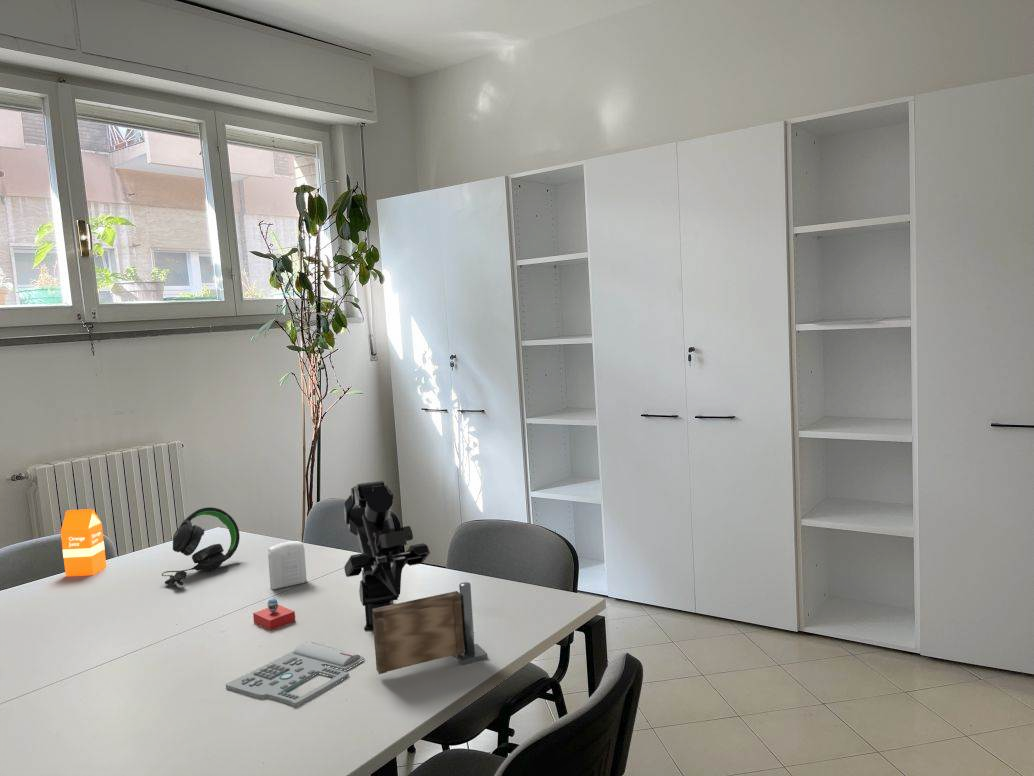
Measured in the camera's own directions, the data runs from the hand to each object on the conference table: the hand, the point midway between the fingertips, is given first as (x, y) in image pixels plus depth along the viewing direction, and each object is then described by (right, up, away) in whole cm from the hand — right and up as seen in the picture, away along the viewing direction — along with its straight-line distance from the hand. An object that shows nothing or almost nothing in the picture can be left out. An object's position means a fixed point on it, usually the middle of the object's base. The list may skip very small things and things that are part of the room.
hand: (397, 595), depth 169 cm
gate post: (+16, -12, -4) cm, 20 cm away
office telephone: (-19, -15, -7) cm, 25 cm away
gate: (+6, -12, -8) cm, 16 cm away
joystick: (-34, -13, +22) cm, 43 cm away
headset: (-69, -11, +65) cm, 96 cm away
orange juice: (-110, -13, +73) cm, 132 cm away
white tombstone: (-39, -11, +50) cm, 64 cm away
